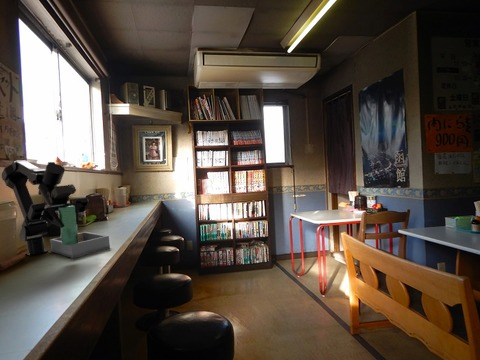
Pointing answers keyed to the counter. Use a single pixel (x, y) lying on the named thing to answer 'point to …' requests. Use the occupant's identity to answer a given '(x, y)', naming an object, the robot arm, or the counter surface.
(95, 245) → the grey tote
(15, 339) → the counter surface
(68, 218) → the green tall cylinder
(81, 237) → the walnut block
